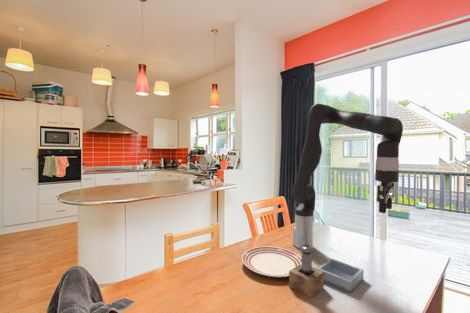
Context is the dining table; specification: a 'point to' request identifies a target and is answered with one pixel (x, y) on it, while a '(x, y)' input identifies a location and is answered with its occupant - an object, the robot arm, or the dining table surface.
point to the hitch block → (306, 281)
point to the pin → (306, 259)
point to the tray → (341, 275)
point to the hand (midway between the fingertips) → (385, 210)
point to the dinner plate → (271, 261)
